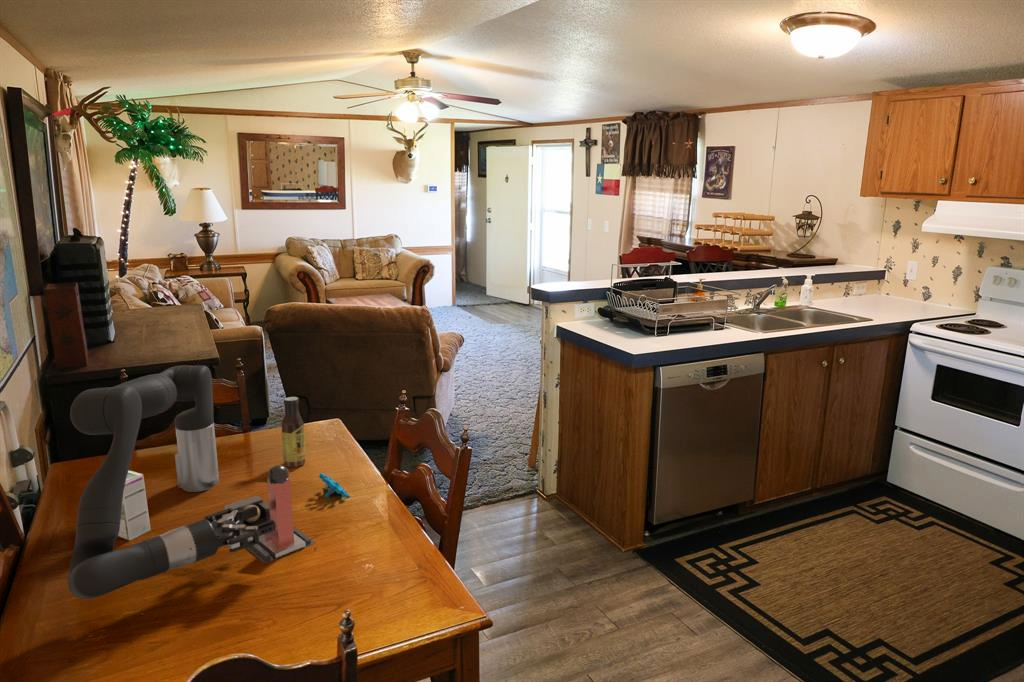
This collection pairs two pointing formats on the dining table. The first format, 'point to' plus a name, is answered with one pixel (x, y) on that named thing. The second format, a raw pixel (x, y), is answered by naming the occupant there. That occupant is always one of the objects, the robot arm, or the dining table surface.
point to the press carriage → (280, 515)
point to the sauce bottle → (293, 434)
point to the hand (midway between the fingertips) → (265, 517)
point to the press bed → (263, 518)
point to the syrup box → (134, 508)
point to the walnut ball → (253, 517)
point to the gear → (332, 486)
